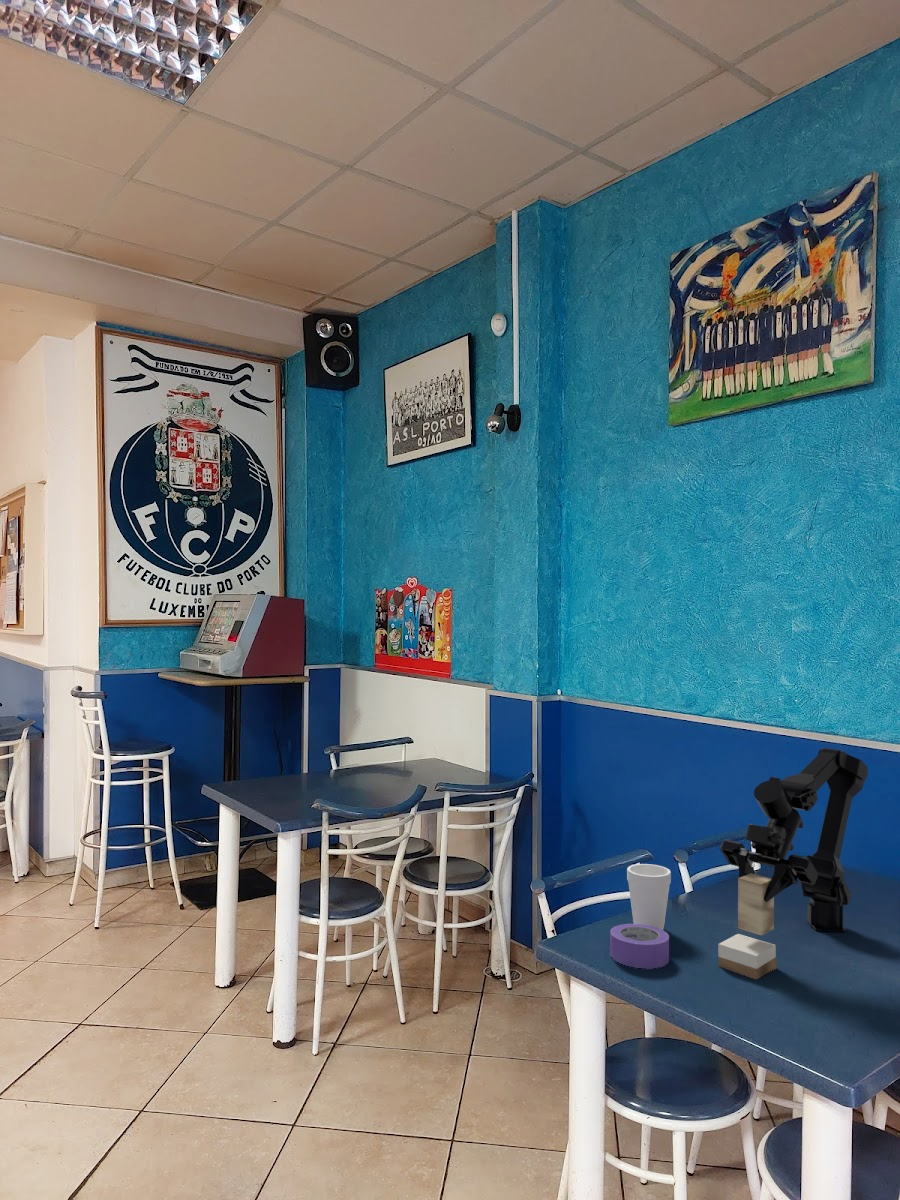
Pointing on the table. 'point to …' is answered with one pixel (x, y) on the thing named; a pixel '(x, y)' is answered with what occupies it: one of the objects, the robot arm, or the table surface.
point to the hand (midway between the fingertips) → (752, 897)
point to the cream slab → (747, 951)
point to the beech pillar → (754, 904)
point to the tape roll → (639, 945)
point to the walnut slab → (748, 968)
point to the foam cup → (649, 893)
